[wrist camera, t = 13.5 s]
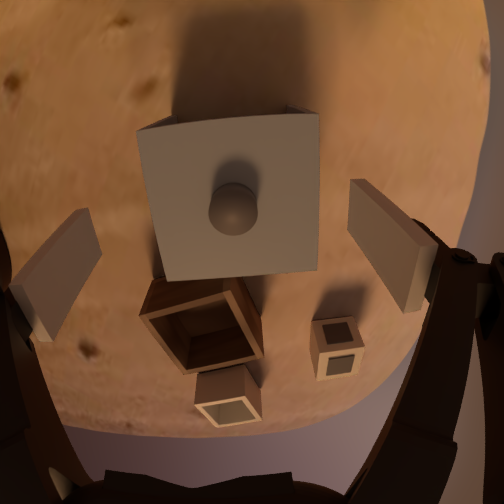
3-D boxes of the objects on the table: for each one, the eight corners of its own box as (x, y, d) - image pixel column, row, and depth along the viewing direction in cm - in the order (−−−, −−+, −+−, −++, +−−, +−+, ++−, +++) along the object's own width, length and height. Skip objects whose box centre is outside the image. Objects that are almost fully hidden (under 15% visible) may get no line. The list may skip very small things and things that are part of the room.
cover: (170, 115, 21) (127, 135, 13) (293, 104, 21) (324, 116, 13) (186, 224, 25) (163, 293, 17) (296, 216, 25) (321, 282, 17)
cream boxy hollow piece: (311, 319, 31) (320, 353, 27) (353, 314, 31) (366, 346, 27) (309, 349, 33) (316, 382, 29) (347, 344, 33) (358, 376, 29)
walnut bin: (152, 280, 28) (138, 315, 24) (231, 254, 27) (230, 289, 22) (189, 338, 32) (183, 374, 27) (261, 319, 31) (264, 357, 26)
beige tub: (197, 374, 35) (194, 404, 31) (244, 364, 34) (245, 395, 30) (217, 399, 38) (216, 427, 34) (260, 390, 37) (262, 420, 33)
